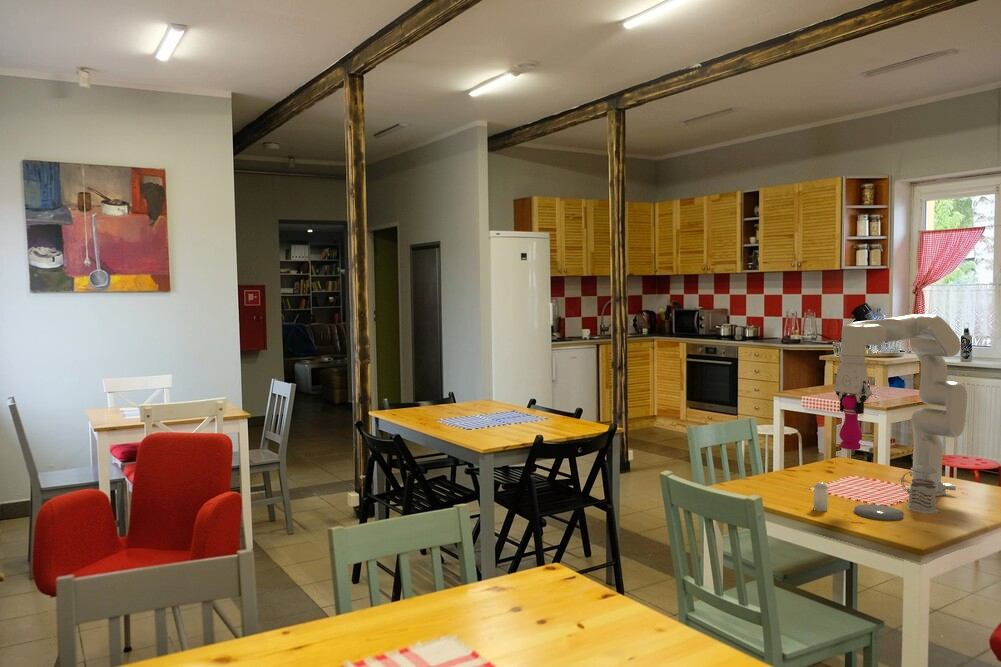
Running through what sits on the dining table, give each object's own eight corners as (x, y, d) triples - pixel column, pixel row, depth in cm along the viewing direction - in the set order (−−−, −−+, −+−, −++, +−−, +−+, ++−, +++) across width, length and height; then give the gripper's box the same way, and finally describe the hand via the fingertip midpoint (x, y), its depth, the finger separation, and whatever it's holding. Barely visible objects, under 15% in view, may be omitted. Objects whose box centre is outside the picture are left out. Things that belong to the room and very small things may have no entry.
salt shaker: (827, 508, 264) (828, 481, 264) (827, 512, 260) (828, 484, 260) (813, 507, 266) (814, 480, 265) (813, 510, 262) (814, 482, 261)
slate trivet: (902, 511, 262) (902, 507, 262) (904, 522, 248) (905, 519, 248) (854, 505, 268) (854, 502, 268) (853, 516, 254) (854, 513, 254)
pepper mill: (865, 447, 266) (866, 390, 265) (857, 450, 261) (858, 392, 260) (843, 445, 271) (845, 388, 270) (835, 447, 266) (837, 390, 265)
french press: (934, 514, 258) (937, 441, 256) (897, 508, 266) (899, 436, 264) (941, 509, 265) (944, 437, 264) (905, 502, 273) (907, 433, 272)
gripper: (825, 358, 271) (823, 409, 272) (865, 363, 255) (864, 416, 256) (840, 358, 274) (839, 408, 275) (882, 362, 258) (880, 415, 259)
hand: (851, 411), depth 265 cm, fingers closed on pepper mill, 6 cm apart
